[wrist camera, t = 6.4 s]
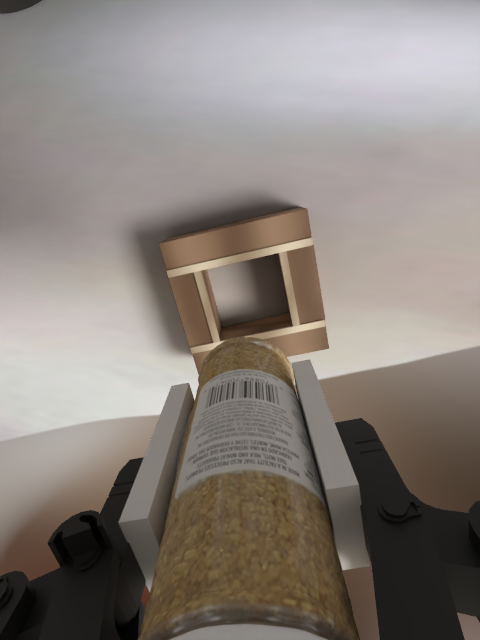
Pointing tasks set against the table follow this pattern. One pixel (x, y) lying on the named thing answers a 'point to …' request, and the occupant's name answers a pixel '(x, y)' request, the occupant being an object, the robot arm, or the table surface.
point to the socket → (239, 245)
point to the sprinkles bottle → (247, 515)
